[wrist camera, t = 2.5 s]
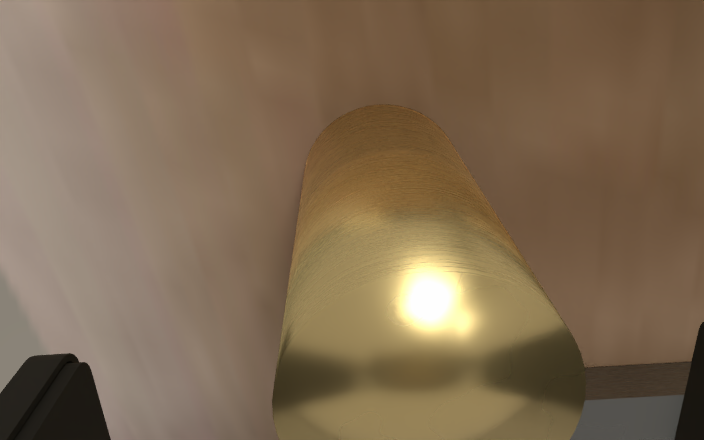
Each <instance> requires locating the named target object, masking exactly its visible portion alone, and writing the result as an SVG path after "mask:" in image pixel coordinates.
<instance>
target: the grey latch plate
mask: <svg viewBox="0 0 704 440" xmlns="http://www.w3.org/2000/svg"><path fill="white" fill-rule="evenodd" d="M691 363H692V362H680V363H663V364H646V365H628V366H611V367H594V368H585V377H586V393H585V402H584V406H583V410H582V414H581V417H580V420H579V422H578V424H577V427H576V429H575V431H574V433H573V435H572V437H571V438H570V440H674V439H675V434H676V430H677V425H678V421H679V417H680V412H681V408H682V403H683V399H684V394H685V390H686V385H687V381H688V376H689V372H690V367H691Z"/></svg>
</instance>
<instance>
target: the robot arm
mask: <svg viewBox="0 0 704 440" xmlns="http://www.w3.org/2000/svg"><path fill="white" fill-rule="evenodd" d="M0 440H111V439H110V436H109V432H108V429H107V425H106V422H105V418H104V414H103V411H102V407H101V404H100V400H99V397H98V393H97V390H96V386H95V382H94V379H93V375H92V372H91V369H90V367H89V365H88V364H87V363H85V362H80V363H79V361H78V358H77V357H76V356H75V355H74V354H71V353H69V354H54V355H38V356H32V357H30V358H28V359H27V360H26V361H25V363H24V364H23V365H22V366H21V368H20V369H19V370H18V371H17V373H16V374H15V375H14V376H13V378H12V379H11V380H10V382H9V383H8V384H7V385H6V387H5V388H4V389H3V391H2V392H1V393H0ZM674 440H704V322H703V323H702V324H701V326H700V328H699V331H698V336H697V340H696V345H695V349H694V354H693V358H692V363H691V367H690V372H689V376H688V381H687V385H686V390H685V394H684V399H683V403H682V408H681V412H680V417H679V421H678V425H677V430H676V434H675V439H674Z"/></svg>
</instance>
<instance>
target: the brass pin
mask: <svg viewBox="0 0 704 440" xmlns="http://www.w3.org/2000/svg"><path fill="white" fill-rule="evenodd" d="M585 393H586V377H585V367H584V364H583V360H582V357H581V353H580V350H579V348H578V346H577V344H576V342H575V340H574V338H573V336H572V334H571V333H570V331H569V329H568V328H567V326H566V325H565V323H564V322H563V320H562V318H561V317H560V315H559V314H558V312H557V310H556V309H555V307H554V306H553V304H552V302H551V301H550V299H549V298H548V296H547V294H546V293H545V291H544V290H543V288H542V287H541V285H540V283H539V282H538V280H537V279H536V277H535V275H534V274H533V272H532V271H531V269H530V267H529V266H528V264H527V263H526V261H525V259H524V258H523V256H522V255H521V253H520V252H519V250H518V248H517V247H516V245H515V244H514V242H513V240H512V239H511V237H510V236H509V234H508V232H507V231H506V229H505V228H504V226H503V224H502V223H501V221H500V220H499V218H498V217H497V215H496V213H495V212H494V210H493V209H492V207H491V205H490V204H489V202H488V201H487V199H486V197H485V196H484V194H483V193H482V191H481V190H480V188H479V186H478V185H477V183H476V182H475V180H474V178H473V177H472V175H471V174H470V172H469V170H468V169H467V167H466V166H465V164H464V162H463V161H462V159H461V158H460V156H459V155H458V153H457V151H456V150H455V148H454V147H453V145H452V143H451V142H450V140H449V139H448V137H447V136H446V134H445V133H444V132H443V131H442V130H441V129H440V127H439V126H438V125H437V124H435V123H434V122H433V121H432V120H430V119H429V118H428V117H426V116H424V115H423V114H421V113H419V112H417V111H414V110H412V109H409V108H405V107H402V106H396V105H372V106H366V107H362V108H358V109H356V110H353V111H351V112H348V113H346V114H345V115H343V116H341V117H339V118H338V119H337V120H335V121H334V122H332V123H331V124H330V125H329V126H328V127H327V128H326V129H325V130H324V131H323V132H322V133H321V134H320V136H319V137H318V138H317V140H316V141H315V143H314V145H313V146H312V148H311V150H310V153H309V155H308V158H307V161H306V165H305V171H304V178H303V185H302V192H301V199H300V206H299V213H298V220H297V227H296V234H295V241H294V248H293V255H292V262H291V270H290V277H289V284H288V291H287V298H286V305H285V312H284V319H283V326H282V333H281V340H280V347H279V354H278V361H277V368H276V375H275V382H274V390H273V399H272V407H273V419H274V424H275V428H276V433H277V435H278V438H279V440H570V438H571V437H572V435H573V433H574V431H575V429H576V427H577V424H578V422H579V420H580V417H581V414H582V410H583V406H584V402H585Z"/></svg>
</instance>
